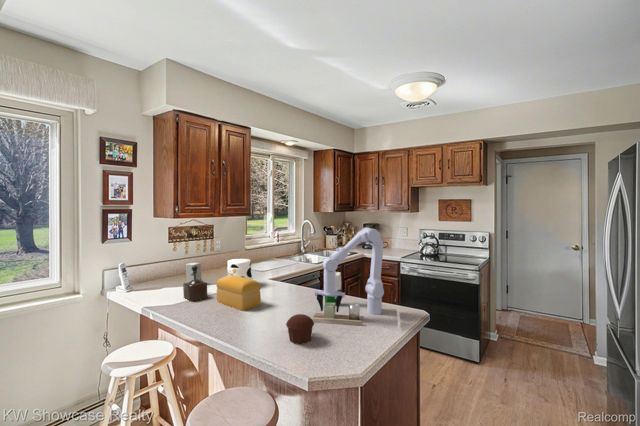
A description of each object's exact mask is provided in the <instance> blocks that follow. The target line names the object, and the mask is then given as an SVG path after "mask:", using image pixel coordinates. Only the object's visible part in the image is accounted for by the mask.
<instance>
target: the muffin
mask: <svg viewBox="0 0 640 426" xmlns="http://www.w3.org/2000/svg"><path fill="white" fill-rule="evenodd" d="M310 317H311V316H309V315H306V314H302V313H301V314H294V315H292V316H290V317H289V318H288V320H287V321H286V323H285V326H286V327H287V331H288V336H289V337H288V338H289V342H291V343H293V344H296V345H302V344H303V345H304V344H307V343H309V342H311V340H312V334H313V333H312V332H313V327H314V325H315V322H313V320H312V319H311V318H310Z"/></svg>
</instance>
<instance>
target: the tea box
mask: <svg viewBox="0 0 640 426" xmlns="http://www.w3.org/2000/svg"><path fill="white" fill-rule="evenodd" d="M323 314H324V318H332V319H334V317H335V314H336V306H335V303H326V304H325V303H324V305H323Z"/></svg>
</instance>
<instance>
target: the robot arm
mask: <svg viewBox="0 0 640 426" xmlns="http://www.w3.org/2000/svg"><path fill="white" fill-rule="evenodd" d="M361 243H369V244H370V246H371V247H372V249H371V260H370V261H371V262H370V271H369V272H370V273H369V278H368V279H367V282H366V285H365V287H364V289H365V292H366V293H367V298H366V299H367V300H366V303H367V305H366V306H367V307H366V308H367V310H366V312H367V314H369V315H373V316H378V315H381V314H382V313H383V311H382V310H383V309H382V308H383V307H382V306H383V303H382V302H383V300H382V299H383V296H384V294H385V291H384V284H383V281H382V267H383V256H384V242H383V239H382V237H381V232H380V231H378V230H377V229H375V228H370V227H367V226H366V227H363V228H362V229H361V230H359V231H358V232H357V233H356V234H355V236H353V238H351V239H350V240H349V241H348V242H347V243H346V244H345V245H344V246H343V247H341V246H340V247H339V248H338V247H337V248H335V251H334V252H333V253H332V254H331V255H329V256H328V257H327V258H324V260H323V261H322V263H321V266H322V268H323V290H314V296H315V297H316V300H317V302H318V304H319V308H320V311H321V312H324V303H323V302H324V297H325V296H333V297H337V298H336V301H337V306H336V308H335V313H339V308H340V305H341V302H342V299H343V298H345V297H346V295H345V294H346V293H345V292H342V291H341V292H337V291H336V274H335V272H336V270H337V269H338V265H340V264H341V263H342V262H343V261H344V260H345V259H346V258H348V256H349V252H351V251H352V250H353V249H355V248H356V247H358V245H359V244H361Z"/></svg>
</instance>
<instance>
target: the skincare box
mask: <svg viewBox="0 0 640 426" xmlns="http://www.w3.org/2000/svg"><path fill="white" fill-rule="evenodd" d="M193 266H197V267H198V269H197V273H196V279H198V280H200V278H201V280H202V270H201V269H202V268H201V263H200V262H190V263H189V262H188V263H186V264H185V274H186V275H185V276H186V283H188V282H190V281H192V280H194V275H192V276H191V274H193V270H192V269H191V268H192V267H193ZM202 281H203V280H202Z"/></svg>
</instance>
